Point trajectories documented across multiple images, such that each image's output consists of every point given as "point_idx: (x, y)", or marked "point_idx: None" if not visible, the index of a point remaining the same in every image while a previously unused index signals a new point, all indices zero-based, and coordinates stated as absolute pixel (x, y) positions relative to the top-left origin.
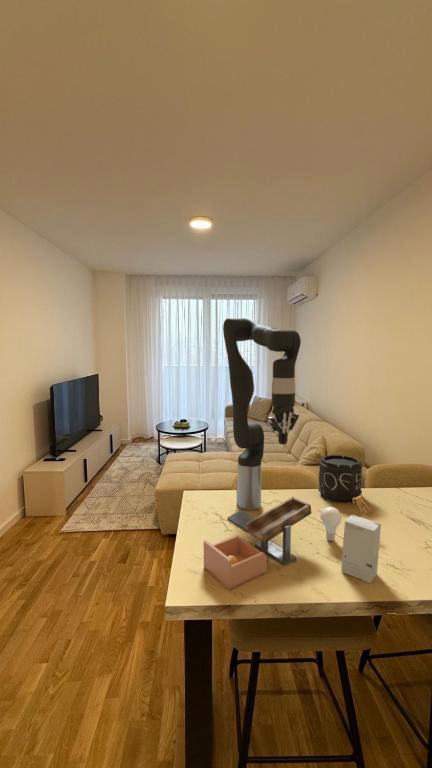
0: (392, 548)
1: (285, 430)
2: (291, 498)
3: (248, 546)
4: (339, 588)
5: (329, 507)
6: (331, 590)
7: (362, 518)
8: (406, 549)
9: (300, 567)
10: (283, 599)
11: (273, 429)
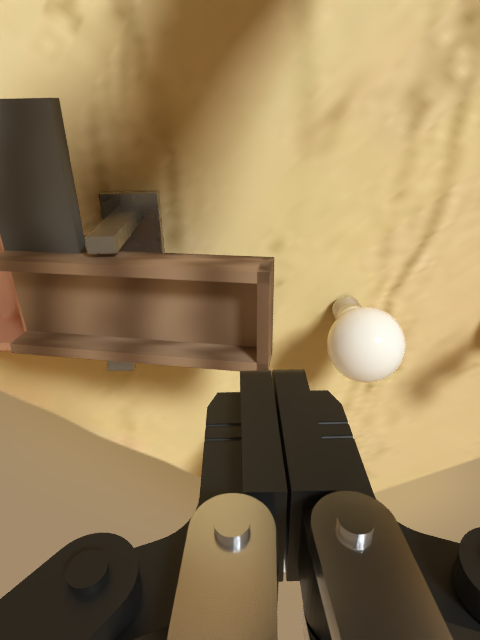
0: (433, 415)
1: (306, 626)
2: (255, 278)
3: (10, 272)
4: (176, 437)
5: (372, 360)
6: (156, 433)
7: None
8: (454, 434)
9: None
10: (40, 403)
11: (31, 588)
